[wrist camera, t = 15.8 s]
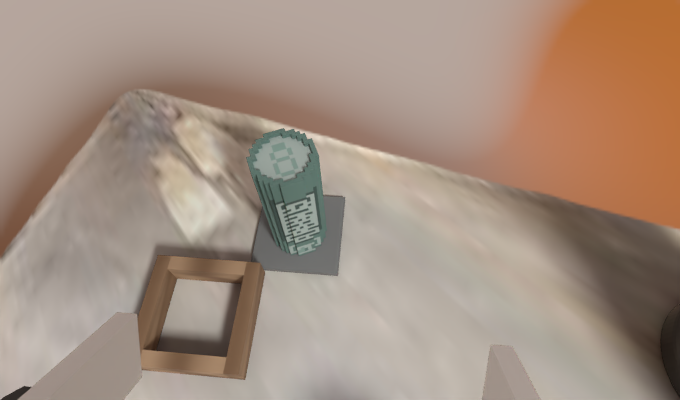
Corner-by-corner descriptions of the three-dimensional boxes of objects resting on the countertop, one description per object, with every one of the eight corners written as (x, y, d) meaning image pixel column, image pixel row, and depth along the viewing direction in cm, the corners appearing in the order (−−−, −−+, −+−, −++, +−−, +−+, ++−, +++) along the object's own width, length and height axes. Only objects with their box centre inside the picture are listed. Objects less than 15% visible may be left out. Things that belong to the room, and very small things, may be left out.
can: (316, 202, 53) (305, 122, 40) (332, 245, 50) (326, 173, 37) (268, 217, 52) (241, 140, 39) (282, 262, 49) (257, 194, 36)
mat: (345, 199, 54) (345, 197, 53) (337, 275, 49) (337, 273, 48) (266, 194, 54) (265, 192, 54) (250, 269, 49) (249, 267, 49)
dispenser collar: (265, 272, 49) (260, 262, 46) (245, 379, 43) (238, 375, 41) (168, 265, 50) (158, 255, 47) (135, 369, 44) (122, 364, 41)
